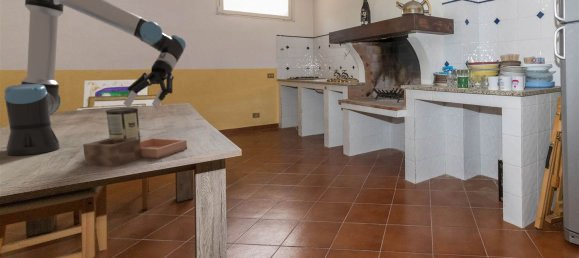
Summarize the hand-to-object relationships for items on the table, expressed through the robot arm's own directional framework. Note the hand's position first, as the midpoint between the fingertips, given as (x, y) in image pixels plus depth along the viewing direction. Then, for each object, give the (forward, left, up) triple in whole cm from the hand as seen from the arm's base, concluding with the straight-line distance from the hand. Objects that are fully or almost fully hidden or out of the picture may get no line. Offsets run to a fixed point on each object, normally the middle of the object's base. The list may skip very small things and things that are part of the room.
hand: (140, 105), depth 130 cm
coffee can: (0, -9, -15) cm, 17 cm away
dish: (+15, -11, -14) cm, 23 cm away
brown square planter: (+11, -24, -14) cm, 30 cm away
